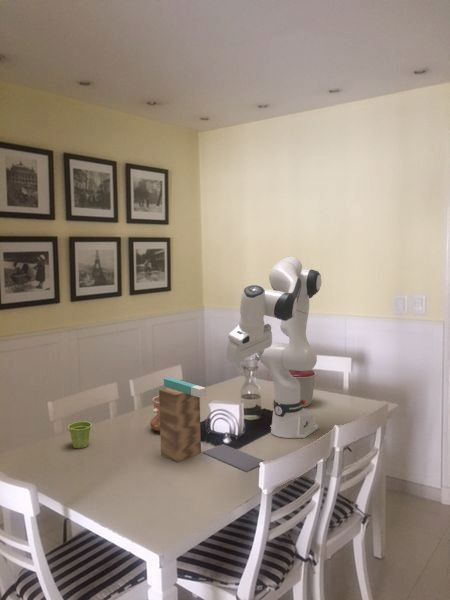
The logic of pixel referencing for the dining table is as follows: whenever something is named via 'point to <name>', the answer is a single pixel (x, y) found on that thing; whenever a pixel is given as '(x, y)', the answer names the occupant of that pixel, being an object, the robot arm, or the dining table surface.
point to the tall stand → (179, 424)
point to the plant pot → (80, 434)
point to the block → (185, 387)
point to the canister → (305, 384)
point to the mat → (234, 457)
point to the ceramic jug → (156, 420)
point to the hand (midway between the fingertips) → (249, 364)
